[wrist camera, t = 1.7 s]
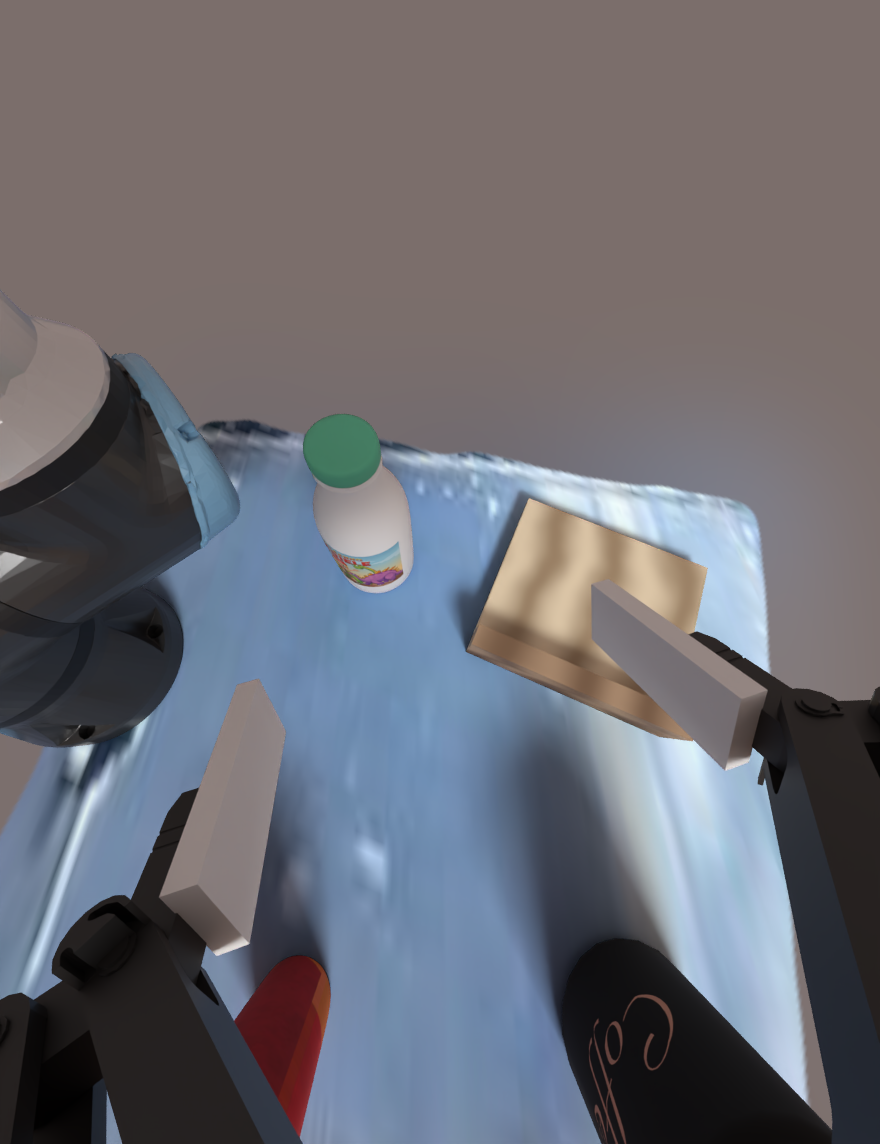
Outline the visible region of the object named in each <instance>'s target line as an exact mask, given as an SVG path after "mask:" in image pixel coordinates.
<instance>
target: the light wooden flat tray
mask: <svg viewBox="0 0 880 1144" xmlns="http://www.w3.org/2000/svg"><path fill="white" fill-rule="evenodd" d="M707 569H708V568H706V567H704V566H701V565H699V564H696V563H693V562H691V561H688V560H686V559H683V558H681V557H678V556H676V555H673V554H670V553H668V552H665V551H663V550H660V549H658V548H655V547H653V546H650V545H647V544H645V543H642V542H640V541H637V540H635V539H632V538H629V537H627V536H624V535H622V534H619V533H617V532H614V531H612V530H609V529H606V528H604V527H601V526H599V525H596V524H594V523H591V522H589V521H586V520H583V519H581V518H578V517H576V516H573V515H571V514H568V513H566V512H563V511H560V510H558V509H555V508H553V507H550V506H548V505H545V504H543V503H540V502H537V501H535V500H532V499H530V498H529V499H528V501H527V503H526V506H525V508H524V510H523V513H522V515H521V517H520V520H519V522H518V525H517V527H516V530H515V532H514V535H513V537H512V540H511V542H510V544H509V547H508V549H507V552H506V554H505V557H504V559H503V562H502V564H501V567H500V569H499V571H498V574H497V576H496V579H495V581H494V584H493V586H492V589H491V591H490V594H489V596H488V598H487V601H486V603H485V606H484V608H483V611H482V613H481V616H480V618H479V621H478V623H477V625H476V628H475V630H474V633H473V635H472V638H471V640H470V643H469V645H468V648H467V650H466V652H468V653H470V654H472V655H475V656H477V657H479V658H481V659H484V660H486V661H488V662H490V663H493V664H495V665H497V666H499V667H502V668H504V669H506V670H509V671H511V672H513V673H515V674H518V675H520V676H522V677H524V678H527V679H529V680H531V681H533V682H536V683H538V684H540V685H543V686H545V687H547V688H549V689H552V690H554V691H556V692H558V693H561V694H563V695H565V696H567V697H570V698H572V699H574V700H577V701H579V702H581V703H583V704H586V705H588V706H590V707H592V708H595V709H597V710H599V711H601V712H604V713H606V714H608V715H611V716H613V717H615V718H617V719H620V720H622V721H624V722H626V723H629V724H631V725H633V726H635V727H638V728H640V729H642V730H645V731H647V732H649V733H651V734H654V735H656V736H658V737H664V738H672V739H680V740H687V741H693V739H692V738H691V737H690V736H689V735H688V734H687V733H686V732H685V731H684V730H683V729H682V728H681V727H680V726H679V725H678V724H677V723H676V722H675V721H674V720H673V719H672V718H671V717H670V716H669V715H668V714H667V713H666V712H665V711H664V710H663V709H662V708H661V707H660V706H659V705H658V704H657V703H656V702H655V701H654V700H653V699H652V698H651V697H650V696H649V695H648V694H647V693H646V692H645V691H644V690H643V689H642V688H641V687H640V686H639V685H638V684H637V683H636V682H635V681H634V680H633V679H632V678H631V677H630V676H629V675H628V674H627V673H626V672H625V671H624V670H623V669H622V668H620V667H619V666H618V665H617V664H616V663H615V662H614V661H613V660H612V659H611V658H610V657H609V656H608V655H607V654H606V653H605V652H604V651H603V650H602V649H601V648H600V647H599V646H598V645H597V644H596V643H595V642H594V641H593V640H592V610H591V584H593V583H596V582H600V581H603V580H607V579H609V580H611V581H612V582H614V583H615V584H617V585H618V586H619V587H621V588H622V589H624V590H625V591H627V592H628V593H629V594H631V595H632V596H634V597H635V598H637V599H638V600H639V601H641V602H642V603H644V604H645V605H647V606H648V607H649V608H651V609H652V610H654V611H655V612H657V613H658V614H660V615H661V616H662V617H664V618H665V619H667V620H668V621H670V622H671V623H672V624H674V625H675V626H677V627H678V628H680V629H681V630H682V631H684V632H685V633H687V634H691V633H694V630H695V625H696V621H697V616H698V611H699V607H700V602H701V597H702V592H703V588H704V583H705V578H706V574H707Z"/></svg>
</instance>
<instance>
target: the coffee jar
mask: <svg viewBox="0 0 880 1144" xmlns="http://www.w3.org/2000/svg"><path fill="white" fill-rule="evenodd" d="M562 1035H563V1039H564V1043H565V1047H566V1051H567V1056H568V1060H569V1064H570V1066H571V1069H572V1071H573V1074H574V1076H575V1079H576V1081H577V1084H578V1086H579V1089H580V1091H581V1094H582V1096H583V1099H584V1101H585V1104H586V1106H587V1109H588V1111H589V1114H590V1116H591V1119H592V1121H593V1124H594V1126H595V1129H596V1131H597V1134H598V1136H599V1139H600V1141H601V1143H602V1144H832V1130H831V1129H830V1128H829V1126H828V1125H827V1124H826V1123H825V1122H824V1121H823V1120H822V1119H821V1118H820V1117H819V1116H818V1115H817V1114H816V1113H815V1112H814V1111H813V1110H812V1109H811V1108H810V1107H809V1106H808V1105H807V1104H806V1102H805V1101H804V1100H803V1099H802V1098H801V1097H800V1096H799V1095H798V1094H797V1093H796V1092H795V1091H794V1090H793V1089H792V1088H791V1087H790V1086H789V1085H788V1084H787V1083H786V1082H785V1081H784V1080H783V1079H782V1077H781V1076H780V1075H779V1074H778V1073H777V1072H776V1071H775V1070H774V1069H773V1068H772V1067H771V1066H770V1065H769V1064H768V1063H767V1062H766V1061H765V1060H764V1059H763V1058H762V1057H761V1056H760V1055H759V1054H758V1052H757V1051H756V1050H755V1049H754V1048H753V1047H752V1046H751V1045H750V1044H749V1043H748V1042H747V1041H746V1040H745V1039H744V1038H743V1037H742V1036H741V1035H740V1034H739V1033H738V1032H737V1031H736V1030H735V1029H734V1027H733V1026H732V1025H731V1024H730V1023H729V1022H728V1021H727V1020H726V1019H725V1018H724V1017H723V1016H722V1015H721V1014H720V1013H719V1012H718V1011H717V1010H716V1009H715V1008H714V1007H713V1006H712V1005H711V1004H710V1002H709V1001H708V1000H707V999H706V998H705V997H704V996H703V995H702V994H701V993H700V992H699V991H698V990H697V989H696V988H695V987H694V986H693V985H692V984H691V983H690V982H689V981H688V980H687V978H686V977H685V976H684V975H683V974H682V973H681V972H680V971H679V970H678V969H677V968H676V967H675V966H674V965H673V964H672V963H671V962H670V961H669V960H668V959H667V958H666V957H665V956H663V955H662V954H661V953H660V952H659V951H658V950H656V949H654V948H652V947H650V946H648V945H646V944H644V943H642V942H640V941H637V940H628V939H619V938H614V939H611V940H608V941H605V942H601V943H598V944H596V945H595V946H594V947H592V948H591V949H590V950H589V951H588V952H586V953H585V954H584V955H583V956H582V957H581V958H580V959H579V961H578V963H577V964H576V966H575V968H574V969H573V971H572V973H571V974H570V976H569V979H568V983H567V987H566V991H565V995H564V999H563V1004H562Z"/></svg>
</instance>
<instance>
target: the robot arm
mask: <svg viewBox="0 0 880 1144" xmlns="http://www.w3.org/2000/svg"><path fill="white" fill-rule="evenodd" d="M239 512H240V500H239V497H238V494H237V492H236V490H235V488H234V486H233V484H232V482H231V481H230V479H229V477H228V475H227V474H226V472H225V470H224V469H223V467H222V465H221V464H220V462H219V461H218V459H217V458H216V456H215V454H214V453H213V451H212V450H211V448H210V447H209V445H208V444H207V442H206V441H205V439H204V438H203V437H202V435H201V434H200V433H199V432H198V431H197V430H196V428H195V425H194V424H193V423H192V421H191V420H190V418H189V417H188V415H187V413H186V412H185V410H184V409H183V407H182V406H181V404H180V403H179V401H178V400H177V398H176V397H175V396H174V394H173V393H172V392H171V390H170V389H169V387H168V386H167V385H166V383H165V382H164V381H163V380H162V378H161V377H160V376H159V374H158V373H157V372H156V371H155V369H154V368H153V367H152V366H151V365H150V364H149V363H148V361H147V360H146V359H144V358H143V357H142V356H141V355H138V354H135V353H128V354H125V355H123V354H119V355H117V354H114V355H113V356H112V358H110V357H109V356H108V355H107V354H106V353H105V352H104V351H103V349H102V348H101V347H100V346H99V345H98V344H97V343H96V342H95V341H94V340H93V339H92V338H91V337H90V336H89V335H87V334H86V333H85V332H83V331H82V330H80V329H78V328H76V327H74V326H72V325H69V324H66V323H63V322H58V321H54V320H49V319H45V318H40V317H36V316H32V315H27V314H25V313H24V312H23V311H22V310H21V309H20V308H19V307H18V306H17V305H15V304H14V302H13V301H12V300H11V299H10V298H8V296H7V295H6V294H4V292H2V291H1V290H0V733H1V734H4V735H7V736H10V737H13V738H17V739H20V740H23V741H26V742H29V743H32V744H35V745H39V746H45V747H73V746H83V745H90V744H96V743H100V742H104V741H107V740H110V739H112V738H115V737H117V736H119V735H121V734H123V733H125V732H127V731H128V730H130V729H132V728H133V727H135V726H136V725H138V724H139V723H140V722H141V721H143V720H144V719H145V718H146V717H147V716H149V715H150V714H151V713H152V712H153V711H154V710H155V708H156V707H157V706H158V705H159V704H160V703H161V701H162V700H163V699H164V697H165V696H166V694H167V693H168V691H169V690H170V688H171V686H172V684H173V682H174V680H175V678H176V676H177V673H178V670H179V667H180V663H181V659H182V652H183V637H182V631H181V627H180V624H179V621H178V619H177V616H176V615H175V613H174V611H173V610H172V608H171V607H170V606H169V605H168V604H167V603H166V602H165V601H164V600H163V599H162V598H160V597H159V596H158V595H156V594H154V593H152V592H150V591H148V590H146V589H143V588H141V586H142V585H144V584H146V583H147V582H149V581H150V580H152V579H153V578H155V577H157V576H158V575H160V574H161V573H163V572H164V571H166V570H167V569H169V568H171V567H172V566H174V565H175V564H177V563H178V562H180V561H181V560H183V559H185V558H186V557H188V556H189V555H191V554H192V553H194V552H196V551H197V550H199V549H202V548H203V547H205V546H206V545H207V544H208V541H209V540H211V539H212V538H213V537H214V536H216V535H217V534H218V533H220V532H221V531H222V530H224V529H225V528H226V527H228V526H229V525H230V524H231V523H233V522H234V521H235V519H236V518H237V516H238V514H239ZM591 610H592V640H593V641H594V642H595V643H596V644H597V645H598V646H599V647H600V648H601V649H602V650H603V651H604V652H605V653H606V654H607V655H608V656H609V657H610V658H611V659H612V660H613V661H614V662H615V663H616V664H617V665H618V666H619V667H620V668H622V669H623V670H624V671H625V672H626V673H627V674H628V675H629V676H630V677H631V678H632V679H633V680H634V681H635V682H636V683H637V684H638V685H639V686H640V687H641V688H642V689H643V690H644V691H645V692H646V693H647V694H648V695H649V696H650V697H651V698H652V699H653V700H654V701H655V702H656V703H657V704H658V705H659V706H660V707H661V708H662V709H663V710H664V711H665V712H666V713H667V714H668V715H669V716H670V717H671V718H672V719H673V720H674V721H675V722H676V723H677V724H678V725H679V726H680V727H681V728H682V729H683V730H684V731H685V732H686V733H687V734H688V735H689V736H690V737H691V738H692V739H693V740H694V741H695V742H696V743H697V744H698V745H699V746H700V747H701V748H702V749H703V750H704V751H705V752H706V753H707V754H708V755H710V756H711V757H712V758H713V759H714V760H715V761H716V762H717V763H718V764H719V765H720V766H721V767H722V768H723V769H724V770H725V771H726V770H729V769H732V768H735V767H737V766H740V765H743V764H746V763H748V762H749V759H750V756H751V752H752V748H754V749H755V750H756V751H757V752H759V753H760V754H761V755H762V756H763V757H764V759H763V763H762V766H761V770H760V773H759V777H758V784H759V785H763V782H764V779H765V780H766V785H767V790H768V795H769V800H770V805H771V810H772V815H773V820H774V825H775V830H776V835H777V840H778V845H779V850H780V855H781V859H782V864H783V869H784V874H785V879H786V884H787V889H788V894H789V899H790V904H791V909H792V914H793V919H794V924H795V929H796V933H797V939H798V943H799V948H800V954H801V958H802V963H803V968H804V973H805V978H806V983H807V988H808V993H809V998H810V1003H811V1008H812V1013H813V1018H814V1023H815V1027H816V1032H817V1038H818V1043H819V1047H820V1053H821V1057H822V1063H823V1067H824V1072H825V1077H826V1082H827V1087H828V1092H829V1097H830V1103H831V1109H832V1121H833V1123H832V1144H880V687H878V688H877V689H875V691H874V694H873V696H872V698H871V700H858V701H837V700H835V699H834V698H832V697H830V696H828V695H826V694H823V693H821V692H817V691H813V690H810V689H797V688H796V689H792V688H790V687H788V686H787V685H785V684H784V683H782V682H781V681H779V680H778V679H776V678H775V677H773V676H772V675H770V674H769V673H767V672H766V671H764V670H763V669H761V668H760V667H758V666H757V665H755V664H754V663H752V662H750V661H749V660H747V659H746V658H743V657H742V656H741V655H740V654H738V653H737V652H735V651H734V650H730V648H729V647H728V646H726V645H725V644H723V643H722V642H720V641H719V640H717V639H716V638H713V637H710V636H708V635H705V634H702V633H700V632H694V633H691V634H687V633H685V632H684V631H682V630H681V629H680V628H678V627H677V626H675V625H674V624H672V623H671V622H670V621H668V620H667V619H665V618H664V617H662V616H661V615H660V614H658V613H657V612H655V611H654V610H652V609H651V608H649V607H648V606H647V605H645V604H644V603H642V602H641V601H639V600H638V599H637V598H635V597H634V596H632V595H631V594H629V593H628V592H627V591H625V590H624V589H622V588H621V587H619V586H618V585H617V584H615V583H614V582H612V581H611V580H609V579H607V580H603V581H600V582H596V583H593V584H591ZM285 735H286V731H285V729H284V727H283V725H282V723H281V721H280V719H279V717H278V715H277V713H276V711H275V709H274V707H273V705H272V703H271V701H270V699H269V697H268V695H267V694H266V692H265V690H264V688H263V686H262V684H261V682H260V680H259V679H256V680H252V681H249V682H245V683H242V684H238V685H237V687H236V689H235V692H234V695H233V697H232V700H231V703H230V706H229V708H228V711H227V714H226V716H225V719H224V722H223V725H222V727H221V730H220V733H219V736H218V738H217V741H216V744H215V746H214V749H213V752H212V755H211V757H210V760H209V763H208V765H207V768H206V771H205V774H204V776H203V779H202V782H201V784H200V787H199V788H197V789H194V790H190V791H187V792H184V793H182V794H181V796H180V797H179V798H178V800H177V801H176V802H175V804H174V805H173V806H172V808H171V809H170V810H169V811H168V813H167V815H166V818H165V820H164V823H163V825H162V827H161V830H160V832H159V833H160V835H159V836H158V837H157V839H156V842H155V844H154V846H153V852H152V853H150V856H149V858H148V861H147V863H146V865H145V868H144V870H143V872H142V875H141V877H140V879H139V882H138V884H137V887H136V889H135V891H134V894H133V896H132V898H131V900H130V899H129V898H128V897H126V896H125V895H117V896H112V897H110V898H108V899H105V900H103V901H101V902H99V903H98V904H97V905H95V906H94V907H92V908H91V909H90V910H88V911H87V912H86V913H85V914H84V915H83V916H82V917H81V918H80V919H79V920H78V921H77V922H76V923H75V924H74V925H73V926H72V927H71V928H70V930H69V931H68V933H67V934H66V935H65V937H64V938H63V940H62V941H61V942H60V944H59V946H58V949H57V951H56V953H55V956H54V958H53V961H52V974H54V975H55V976H57V977H58V978H60V979H61V980H63V981H61V982H60V983H58V984H57V985H55V986H54V987H52V988H51V989H49V990H48V991H46V992H45V993H43V994H42V995H40V996H39V997H37V998H36V999H34V1000H33V999H31V998H29V997H28V996H26V995H24V994H23V993H17V994H12V995H8V996H6V997H5V998H3V999H1V1000H0V1144H106V1102H107V1092H108V1096H109V1099H110V1102H111V1106H112V1109H113V1113H114V1116H115V1120H116V1123H117V1127H118V1130H119V1133H120V1137H121V1140H122V1144H303V1143H302V1141H301V1140H300V1138H299V1136H298V1134H297V1132H296V1131H295V1129H294V1127H293V1125H292V1124H291V1122H290V1120H289V1118H288V1116H287V1115H286V1113H285V1111H284V1109H283V1108H282V1106H281V1104H280V1102H279V1100H278V1099H277V1097H276V1095H275V1093H274V1091H273V1090H272V1088H271V1086H270V1084H269V1083H268V1081H267V1079H266V1077H265V1075H264V1074H263V1072H262V1070H261V1068H260V1067H259V1065H258V1063H257V1061H256V1059H255V1058H254V1056H253V1054H252V1052H251V1051H250V1049H249V1047H248V1045H247V1043H246V1042H245V1040H244V1038H243V1036H242V1035H241V1033H240V1031H239V1029H238V1027H237V1026H236V1024H235V1022H234V1020H233V1018H232V1017H231V1015H230V1013H229V1011H228V1010H227V1008H226V1006H225V1004H224V1002H223V1001H222V999H221V997H220V995H219V994H218V992H217V990H216V988H215V986H214V985H213V983H212V981H211V979H210V978H209V976H208V974H207V972H206V971H205V970H204V969H203V968H202V967H201V964H202V960H203V956H204V952H205V948H206V945H207V946H208V947H209V948H210V949H211V950H212V951H213V953H214V954H215V955H216V956H218V955H221V954H223V953H226V952H229V951H232V950H234V949H237V948H240V947H243V946H245V945H248V944H250V938H251V933H252V927H253V921H254V915H255V909H256V904H257V898H258V892H259V886H260V880H261V874H262V869H263V863H264V857H265V851H266V845H267V840H268V834H269V828H270V822H271V816H272V810H273V805H274V799H275V793H276V787H277V781H278V776H279V770H280V764H281V758H282V752H283V746H284V741H285Z"/></svg>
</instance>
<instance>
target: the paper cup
mask: <svg viewBox="0 0 880 1144" xmlns="http://www.w3.org/2000/svg"><path fill="white" fill-rule="evenodd" d="M330 997H331V993H330V984H329V980H328V977H327V975H326V973H325V971H324V969H323V968H322V966H321V965H320V964H319V963H318V962H317V961H315V960H314V959H312V958H310V957H307V956H303V955H296V956H291V957H288V958H286V959H284V960H283V961H281V962H280V963H278V964H277V965H276V966H275V967H274V968H273V969H272V970H271V971H270V972H269V974H268V975H267V976H266V977H265V979H264V980H263V981H262V983H261V984H260V986H259V987H258V988H257V990H256V991H255V992H254V994H253V995H252V997H251V998H250V999H249V1001H248V1002H247V1004H246V1005H245V1006H244V1008H243V1009H242V1011H241V1012H240V1014H239V1015H238V1016H237V1018H236V1019H235V1021H234V1022H235V1024H236V1026H237V1027H238V1029H239V1031H240V1033H241V1035H242V1036H243V1038H244V1040H245V1042H246V1043H247V1045H248V1047H249V1049H250V1051H251V1052H252V1054H253V1056H254V1058H255V1059H256V1061H257V1063H258V1065H259V1067H260V1068H261V1070H262V1072H263V1074H264V1075H265V1077H266V1079H267V1081H268V1083H269V1084H270V1086H271V1088H272V1090H273V1091H274V1093H275V1095H276V1097H277V1099H278V1100H279V1102H280V1104H281V1106H282V1108H283V1109H284V1111H285V1113H286V1115H287V1116H288V1118H289V1120H290V1122H291V1124H292V1125H293V1127H294V1129H295V1131H296V1132H297V1134H298V1136H299V1138H300V1134H301V1129H302V1125H303V1121H304V1117H305V1113H306V1108H307V1104H308V1100H309V1096H310V1092H311V1088H312V1083H313V1079H314V1075H315V1071H316V1066H317V1062H318V1058H319V1054H320V1050H321V1045H322V1041H323V1037H324V1032H325V1028H326V1023H327V1018H328V1013H329V1008H330Z"/></svg>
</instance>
